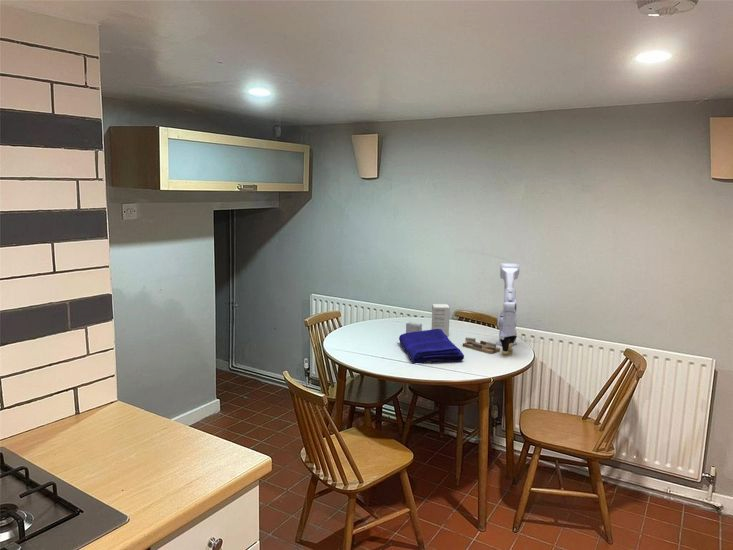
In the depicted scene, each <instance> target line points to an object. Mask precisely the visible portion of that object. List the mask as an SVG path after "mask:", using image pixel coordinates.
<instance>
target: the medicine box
mask: <svg viewBox="0 0 733 550" xmlns="http://www.w3.org/2000/svg"><path fill="white" fill-rule="evenodd" d="M417 331H423V324H422V323H420V322H413V321H408V322H407V323H405V333H409V332H417Z"/></svg>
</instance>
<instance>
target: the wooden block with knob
mask: <svg viewBox="0 0 733 550" xmlns="http://www.w3.org/2000/svg"><path fill="white" fill-rule="evenodd" d="M513 346H514V345H513V343H512V342H510V343H509V346H508V351H507V352H506V351H503V348H502V350H501V354H502V355H505V354H506V355H505V356H510V354H511V355H513V348H514V347H513Z"/></svg>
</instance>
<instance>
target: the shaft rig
mask: <svg viewBox="0 0 733 550" xmlns="http://www.w3.org/2000/svg"><path fill="white" fill-rule="evenodd" d="M464 340H465V341H464V343H462V347H464V348H467V349H470V350H471V349H472V350H475V351H478V352H481V353H485V354H488V355H493V354H495V353H499V352H501V348H500V347H497V344H496V342H492V341H484V340H480V342H478V341H476V337H468V336H466V337H465V338H464Z"/></svg>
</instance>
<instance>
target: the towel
mask: <svg viewBox="0 0 733 550" xmlns="http://www.w3.org/2000/svg"><path fill="white" fill-rule="evenodd" d="M398 340H399V343H400V345H401V347H402V348H403V350H404V351H405V352H406V353H407V355H408V357H409V359H410V361H411V362H412V363H413V364H415V363H422V364H427V363H428V362H429V361H431V362H429V363H432V361H433V362H440V361H441V362H443V363H461V362H462V361H463V360H464V359H465V354H464V353H463V352H462V350H461V349H460V348H458V347H457V346H456V344H455V343H453V342H452V340H450V338H449V336H447V335H446V334H444V332H443V331H442V329H433V330H432V329H428V330H427V329H426V330H422V331H417V332H409V333H406V332H405V333H401V334H400V335H399V336H398Z"/></svg>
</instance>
